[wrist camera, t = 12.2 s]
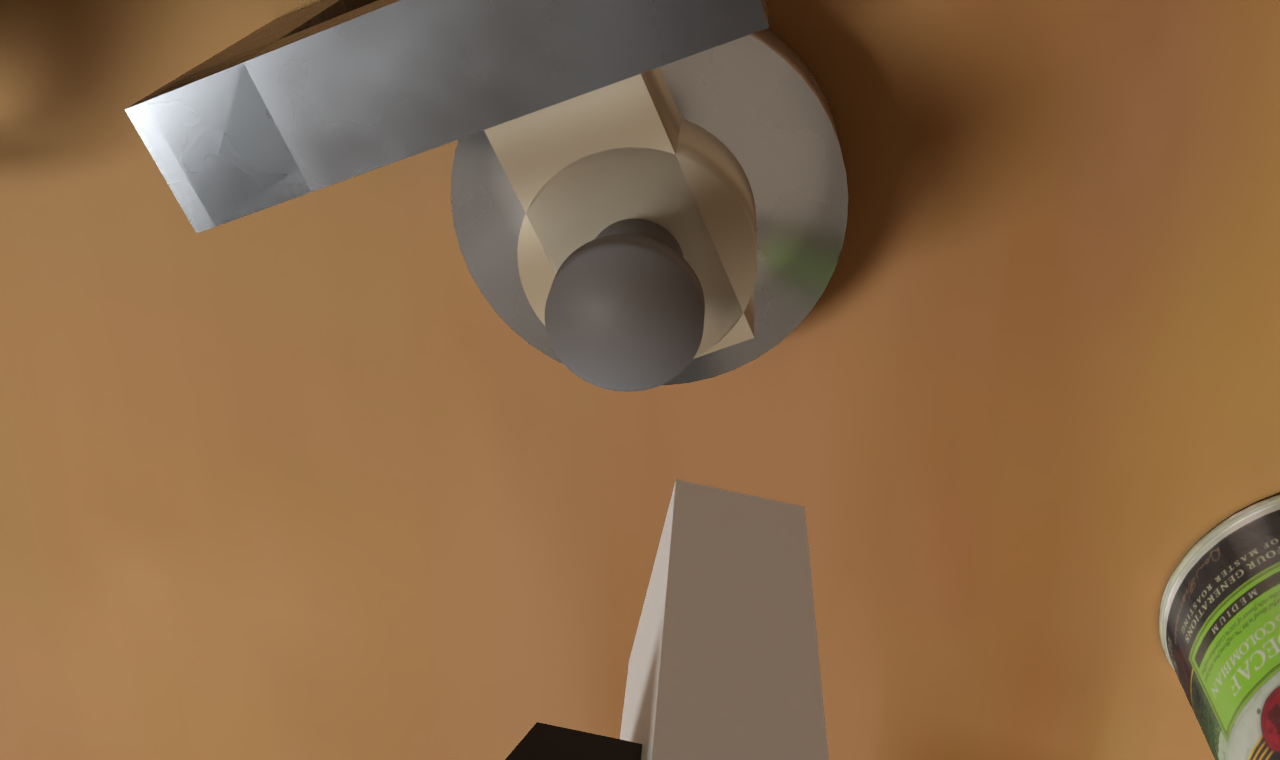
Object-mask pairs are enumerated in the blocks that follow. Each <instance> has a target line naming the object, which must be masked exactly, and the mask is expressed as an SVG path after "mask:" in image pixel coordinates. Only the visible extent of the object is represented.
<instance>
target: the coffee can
mask: <svg viewBox="0 0 1280 760" xmlns="http://www.w3.org/2000/svg"><path fill="white" fill-rule="evenodd" d="M1159 636H1160V640H1161V644H1162V647H1163V650H1164V652H1165V655H1166V657H1167V659H1168V661H1169V663H1170V665H1171V666H1172V668H1173V669H1174V670H1175V672H1176V674H1177V676H1178V678H1179V681H1180V683H1181V685H1182V687H1183V689H1184V691H1185V693H1186V696H1187V698H1188V701H1189V703H1190V705H1191V707H1192V709H1193V711H1194V713H1195V715H1196V718H1197V720H1198V722H1199V724H1200V726H1201V729H1202V731H1203V733H1204V735H1205V738H1206V740H1207V742H1208V744H1209V747H1210V749H1211V751H1212V753H1213V755H1214V758H1215V760H1280V494H1279V495H1276V496H1273V497H1270V498H1267V499H1265V500H1262V501H1260V502H1257V503H1255V504H1253V505H1251V506H1249V507H1247V508H1245V509H1243V510H1241V511H1239V512H1238V513H1236V514H1234V515H1232V516H1231V517H1229V518H1227V519H1226V520H1224V521H1223V522H1222V523H1220V524H1219V525H1217V526H1216V527H1214V528H1213V529H1212V530H1210V531H1209V532H1208V533H1207V534H1206V535H1205V536H1203V537H1202V538H1201V539H1200V540H1199V541H1198V542H1197V543H1196V544H1195V545H1194V546H1193V547H1192V548H1191V549H1190V550H1189V551H1188V552H1187V554H1186V555H1185V557H1184V558H1183V559H1182V561H1181V562H1180V564H1179V565H1178V567H1177V568H1176V569H1175V570H1174V572H1173V574H1172V576H1171V578H1170V579H1169V581H1168V583H1167V586H1166V588H1165V591H1164V594H1163V597H1162V601H1161V605H1160V610H1159Z"/></svg>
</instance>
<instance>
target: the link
mask: <svg viewBox="0 0 1280 760" xmlns="http://www.w3.org/2000/svg"><path fill="white" fill-rule="evenodd" d="M484 131H485V133H486V135H487V137H488V139H489V141H490V143H491V145H492V147H493V149H494V151H495V153H496V155H497V157H498V159H499V161H500V163H501V165H502V167H503V169H504V171H505V173H506V175H507V177H508V179H509V181H510V183H511V185H512V187H513V189H514V191H515V193H516V195H517V197H518V199H519V201H520V203H521V205H522V207H523V209H524V211H525V213H526V215H525V217H524V219H523V222H522V226H521V229H520V233H519V240H518V247H517V254H518V269H519V275H520V279H521V283H522V286H523V290H524V292H525V294H526V297H527V299H528V301H529V303H530V305H531V307H532V308H533V310H534V312H535V313H536V315H537V317H538V318H539V319H540V320H541V322H542V323H543V324H544V325H545V327H546V332H547V336H548V339H549V341H550V344H551V346H552V348H553V350H554V351H555V353H556V355H557V356H558V357H559V359H560V360H561V361H562V362H563V364H564V365H565V366H566V367H567V368H568V369H569V370H570V371H572V372H573V373H574V374H576V375H577V376H578V377H580V378H582V379H583V380H585V381H587V382H589V383H591V384H593V385H595V386H598V387H602V388H605V389H609V390H614V391H624V392H630V391H641V390H647V389H650V388H654V387H657V386H659V385H662V384H664V383H666V382H668V381H670V380H671V379H673V378H674V377H676V376H677V375H678V374H680V373H681V372H682V371H683V370H684V369H685V368H686V367H687V366H688V365H689V363H690V362H691V361H692V359H694V358H697V357H700V356H703V355H706V354H709V353H712V352H715V351H717V350H720V349H723V348H726V347H729V346H732V345H735V344H738V343H741V342H744V341H746V340H749V339H752V338H754V288H753V287H754V283H755V278H756V269H757V244H756V207H755V201H754V196H753V192H752V189H751V186H750V183H749V180H748V178H747V176H746V174H745V172H744V170H743V168H742V166H741V165H740V163H739V162H738V160H737V159H736V157H735V156H734V155H733V153H732V152H731V151H730V150H729V149H728V148H727V147H726V146H725V144H723V143H722V142H721V141H720V140H719V139H718V138H716V137H715V136H714V135H713V134H711V133H710V132H708V131H707V130H705V129H704V128H702V127H701V126H699V125H697V124H694V123H692V122H690V121H688V120H686V119H683V118H682V117H681V115H680V113H679V110H678V108H677V106H676V103H675V101H674V99H673V96H672V94H671V91H670V89H669V87H668V84H667V82H666V80H665V77H664V75H663V72H662V70H661V68H660V67H658V68H655V69H652V70H650V71H647V72H644V73H641V74H639V75H636V76H633V77H630V78H627V79H625V80H622V81H619V82H616V83H613V84H611V85H608V86H605V87H602V88H600V89H597V90H594V91H591V92H588V93H586V94H583V95H580V96H577V97H574V98H572V99H569V100H566V101H563V102H561V103H558V104H555V105H552V106H549V107H547V108H544V109H541V110H538V111H536V112H533V113H530V114H527V115H524V116H522V117H519V118H516V119H513V120H510V121H508V122H505V123H502V124H499V125H497V126H494V127H491V128H488V129H485V130H484Z"/></svg>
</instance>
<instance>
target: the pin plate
mask: <svg viewBox="0 0 1280 760" xmlns="http://www.w3.org/2000/svg"><path fill="white" fill-rule="evenodd" d="M660 68H661V70H662V72H663V75H664V77H665V80H666V82H667V84H668V87H669V89H670V91H671V94H672V96H673V99H674V101H675V103H676V106H677V108H678V110H679V113H680V115H681V117H682V118H683V119H686V120H688V121H690V122H692V123H694V124H697V125H699V126H701V127H702V128H704V129H705V130H707V131H708V132H710V133H711V134H713V135H714V136H715V137H716V138H718V139H719V140H720V141H721V142H722V143H723V144H725V146H726V147H727V148H728V149H729V150H730V151H731V152H732V153H733V155H734V156H735V157H736V159H737V160H738V162H739V163H740V165H741V166H742V168H743V170H744V172H745V174H746V176H747V178H748V180H749V183H750V186H751V189H752V192H753V196H754V201H755V207H756V244H757V269H756V278H755V283H754V287H753V288H754V338H752V339H749V340H746V341H744V342H741V343H738V344H735V345H732V346H729V347H726V348H723V349H720V350H717V351H715V352H712V353H709V354H706V355H703V356H700V357H697V358H694V359H692V361H691V362H690V363H689V365H688V366H687V367H686V368H685V369H684V370H683V371H682V372H681V373H680V374H678V375H677V376H676V377H674V378H673V379H671V380H670V381H668V382H666V383H664V384H662V385H671V384H681V383H689V382H694V381H698V380H703V379H707V378H712V377H715V376H717V375H720V374H723V373H726V372H729V371H732V370H734V369H736V368H738V367H740V366H742V365H744V364H747V363H749V362H751V361H753V360H755V359H756V358H758V357H759V356H761V355H762V354H764V353H765V352H767V351H769V350H770V349H772V348H773V347H775V346H776V345H777V344H778V343H779V342H781V341H782V340H783V339H784V338H785V337H786V336H788V335H789V334H790V333H791V332H792V331H793V330H794V329H795V328H796V327H797V326H798V325H799V324H800V323H801V322H802V321H803V319H804V318H805V317H806V316H807V315H808V314H809V313H810V311H811V310H812V309H813V307H814V306H815V304H816V303H817V301H818V300H819V298H820V297H821V295H822V294H823V292H824V291H825V289H826V287H827V285H828V283H829V281H830V279H831V277H832V275H833V273H834V271H835V268H836V265H837V262H838V259H839V256H840V253H841V250H842V247H843V242H844V237H845V232H846V227H847V216H848V188H847V176H846V170H845V166H844V161H843V157H842V152H841V148H840V143H839V139H838V135H837V130H836V126H835V122H834V119H833V117H832V114H831V111H830V109H829V106H828V103H827V101H826V98H825V97H824V95H823V93H822V91H821V89H820V87H819V86H818V84H817V82H816V80H815V78H814V77H813V75H812V74H811V73H810V71H809V70H808V69H807V67H806V66H805V65H804V63H803V62H802V61H801V59H800V58H799V57H798V56H797V55H796V54H795V52H794V51H793V50H792V49H791V48H790V47H789V46H788V45H787V44H786V43H785V42H784V41H783V40H782V39H781V38H780V37H778V36H777V35H776V34H774V33H773V32H772V31H770V30H769V29H768V28H767V29H764V30H761V31H758V32H755V33H753V34H750V35H747V36H744V37H742V38H739V39H736V40H733V41H730V42H728V43H725V44H722V45H719V46H716V47H714V48H711V49H708V50H705V51H703V52H700V53H697V54H694V55H691V56H689V57H686V58H683V59H680V60H678V61H675V62H672V63H669V64H666V65H664V66H661V67H660ZM451 204H452V212H453V221H454V227H455V231H456V235H457V238H458V242H459V246H460V249H461V252H462V254H463V257H464V259H465V262H466V264H467V267H468V269H469V272H470V273H471V275H472V277H473V279H474V281H475V282H476V284H477V286H478V288H479V289H480V291H481V293H482V294H483V295H484V297H485V298H486V300H487V301H488V302H489V304H490V305H491V306H492V308H493V309H494V310H495V312H496V313H497V314H498V315H499V316H500V317H501V318H502V319H503V320H504V321H505V322H506V323H507V324H508V326H509V327H510V328H511V329H512V330H514V331H515V332H516V333H517V334H518V335H520V336H521V337H522V338H523V339H524V340H526V341H527V342H528V343H529V344H530V345H532V346H533V347H535V348H537V349H538V350H540V351H541V352H543V353H544V354H546V355H547V356H549V357H550V358H552V359H554V360H556V361H558V362H560V363H562V364H563V362H562V361H561V360H560V359H559V357H558V356H557V355H556V353H555V351H554V350H553V348H552V346H551V344H550V341H549V339H548V336H547V332H546V327H545V325H544V324H543V323H542V322H541V320H540V319H539V318H538V317H537V315H536V313H535V312H534V310H533V308H532V307H531V305H530V303H529V301H528V299H527V297H526V294H525V292H524V290H523V286H522V283H521V279H520V275H519V269H518V254H517V247H518V240H519V233H520V229H521V226H522V222H523V219H524V217H525V215H526V213H525V211H524V209H523V207H522V205H521V203H520V201H519V199H518V197H517V195H516V193H515V191H514V189H513V187H512V185H511V183H510V181H509V179H508V177H507V175H506V173H505V171H504V169H503V167H502V165H501V163H500V161H499V159H498V157H497V155H496V153H495V151H494V149H493V147H492V145H491V143H490V141H489V139H488V137H487V135H486V133H485V131H484V130H483V131H480V132H477V133H474V134H471V135H469V136H466V137H463V138H460V139H459V141H458V145H457V148H456V151H455V157H454V163H453V170H452V178H451Z"/></svg>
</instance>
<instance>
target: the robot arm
mask: <svg viewBox="0 0 1280 760" xmlns="http://www.w3.org/2000/svg"><path fill="white" fill-rule="evenodd" d="M505 760H828V749H827V739H826V728H825V717H824V707H823V696H822V685H821V675H820V664H819V653H818V643H817V632H816V621H815V611H814V600H813V589H812V579H811V568H810V557H809V547H808V536H807V525H806V515H805V507H803V506H798V505H794V504H789V503H784V502H779V501H775V500H770V499H765V498H761V497H756V496H751V495H747V494H742V493H737V492H732V491H728V490H723V489H718V488H714V487H709V486H704V485H699V484H695V483H690V482H685V481H681V480H676V482H675V485H674V489H673V493H672V497H671V501H670V505H669V509H668V513H667V516H666V520H665V524H664V528H663V532H662V536H661V540H660V544H659V547H658V551H657V555H656V559H655V563H654V567H653V571H652V575H651V578H650V582H649V586H648V590H647V594H646V598H645V602H644V606H643V609H642V613H641V617H640V621H639V625H638V629H637V633H636V637H635V640H634V644H633V648H632V652H631V656H630V660H629V667H628V675H627V684H626V692H625V700H624V708H623V716H622V725H621V733H620V739H615V738H611V737H606V736H601V735H596V734H591V733H586V732H581V731H577V730H572V729H567V728H562V727H557V726H552V725H547V724H543V723H538V722H537V723H536V724H535V725H534V727H533V728H532V729H531V730H530V731H529V732H528V734H527V735H526V736H525V737H524V738H523V739H522V741H521V742H520V743H519V744H518V745H517V747H516V748H515V749H514V750H513V751H512V752H511V754H510V755H509V756H508V757H507V758H506V759H505Z"/></svg>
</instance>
